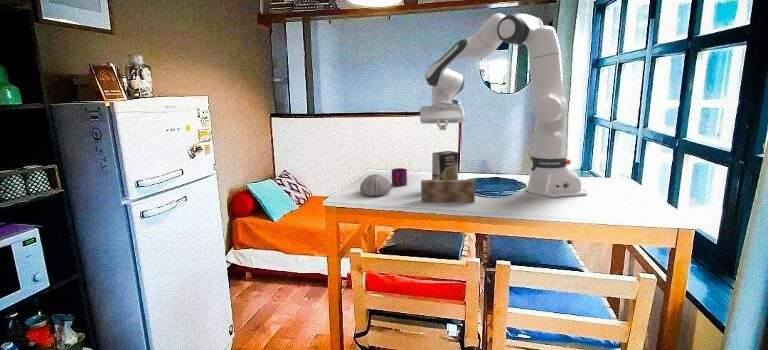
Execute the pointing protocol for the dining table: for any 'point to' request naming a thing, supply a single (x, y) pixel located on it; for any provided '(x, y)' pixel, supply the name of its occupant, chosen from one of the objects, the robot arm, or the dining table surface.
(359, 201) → the dining table surface
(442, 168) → the coffee box
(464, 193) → the brown rectangular block
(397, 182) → the mug
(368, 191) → the sea urchin shell
